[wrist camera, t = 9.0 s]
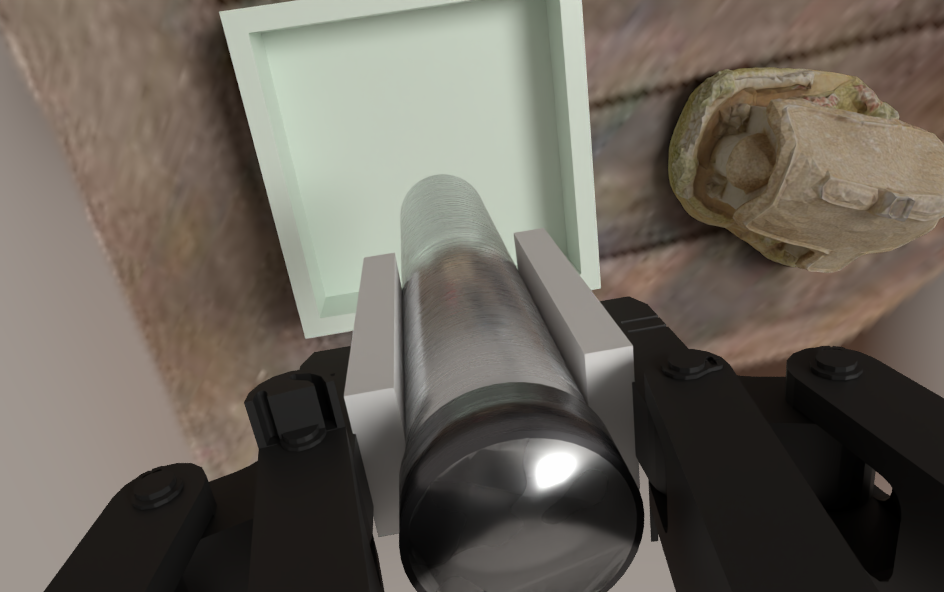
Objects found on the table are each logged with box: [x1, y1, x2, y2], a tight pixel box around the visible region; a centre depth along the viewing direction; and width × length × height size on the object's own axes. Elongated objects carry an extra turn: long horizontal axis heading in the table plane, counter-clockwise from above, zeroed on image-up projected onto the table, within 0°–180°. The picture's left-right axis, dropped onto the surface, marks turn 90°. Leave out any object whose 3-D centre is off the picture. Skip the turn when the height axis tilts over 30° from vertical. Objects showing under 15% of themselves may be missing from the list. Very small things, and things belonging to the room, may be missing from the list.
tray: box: [219, 0, 601, 339], centre depth 34 cm, size 16×16×4 cm
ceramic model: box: [668, 68, 944, 273], centre depth 34 cm, size 14×11×10 cm
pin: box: [399, 174, 644, 592], centre depth 16 cm, size 3×3×16 cm
